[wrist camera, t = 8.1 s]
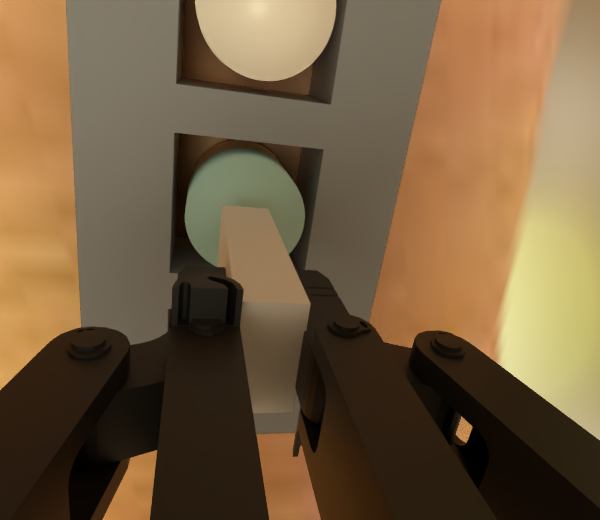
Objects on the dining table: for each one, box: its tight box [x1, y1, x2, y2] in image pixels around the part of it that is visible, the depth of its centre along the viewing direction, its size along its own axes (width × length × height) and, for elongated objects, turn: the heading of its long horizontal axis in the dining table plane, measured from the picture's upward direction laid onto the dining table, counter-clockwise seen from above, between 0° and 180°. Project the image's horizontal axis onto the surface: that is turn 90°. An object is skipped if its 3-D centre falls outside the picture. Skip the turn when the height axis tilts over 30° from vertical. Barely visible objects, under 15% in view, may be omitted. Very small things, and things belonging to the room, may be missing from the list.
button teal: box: [185, 140, 305, 267], centre depth 19 cm, size 4×4×4 cm
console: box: [66, 0, 441, 434], centre depth 20 cm, size 12×22×4 cm, turn 171°
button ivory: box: [195, 0, 336, 81], centre depth 16 cm, size 4×4×4 cm
